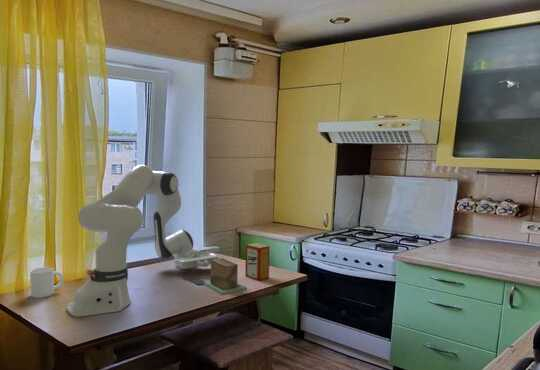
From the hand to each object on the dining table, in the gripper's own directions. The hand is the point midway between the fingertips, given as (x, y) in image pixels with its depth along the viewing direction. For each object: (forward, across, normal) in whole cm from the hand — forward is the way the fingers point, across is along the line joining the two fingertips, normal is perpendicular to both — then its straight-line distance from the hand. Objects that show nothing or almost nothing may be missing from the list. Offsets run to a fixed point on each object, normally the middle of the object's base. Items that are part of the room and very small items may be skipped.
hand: (205, 264), depth 198 cm
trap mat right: (+1, +7, +6) cm, 9 cm away
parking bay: (+17, 0, +6) cm, 18 cm away
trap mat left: (+4, -6, +6) cm, 10 cm away
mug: (-15, -65, +6) cm, 67 cm away
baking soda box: (+14, +20, +6) cm, 25 cm away
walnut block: (+16, 0, +6) cm, 17 cm away
